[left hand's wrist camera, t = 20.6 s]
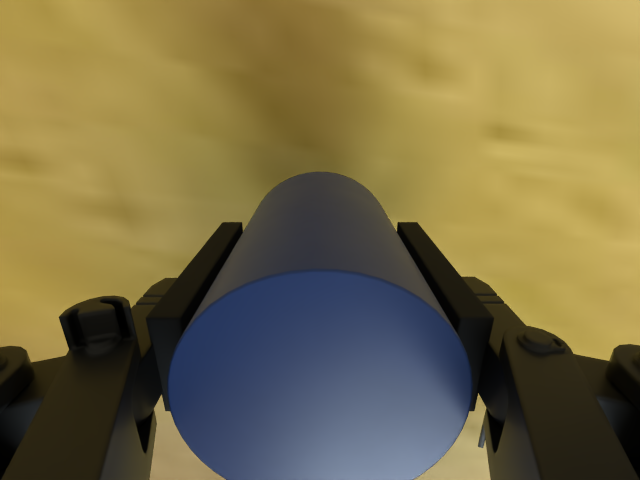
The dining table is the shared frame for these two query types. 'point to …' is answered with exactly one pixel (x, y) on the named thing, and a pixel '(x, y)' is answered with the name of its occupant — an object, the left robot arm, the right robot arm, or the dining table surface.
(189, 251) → the dining table surface
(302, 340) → the can
